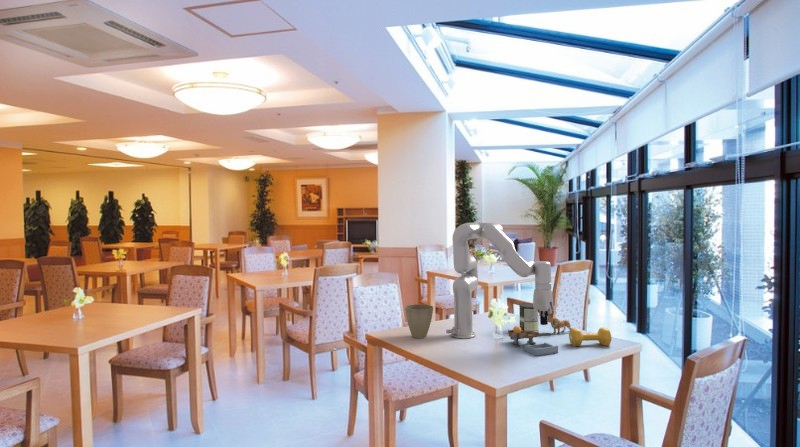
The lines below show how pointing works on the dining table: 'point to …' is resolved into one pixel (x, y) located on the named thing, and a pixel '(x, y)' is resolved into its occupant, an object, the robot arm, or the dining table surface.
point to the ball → (517, 329)
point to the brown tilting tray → (526, 334)
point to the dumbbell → (590, 336)
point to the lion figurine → (559, 324)
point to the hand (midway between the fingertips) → (544, 324)
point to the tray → (541, 349)
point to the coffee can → (528, 318)
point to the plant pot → (419, 319)
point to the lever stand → (517, 341)
